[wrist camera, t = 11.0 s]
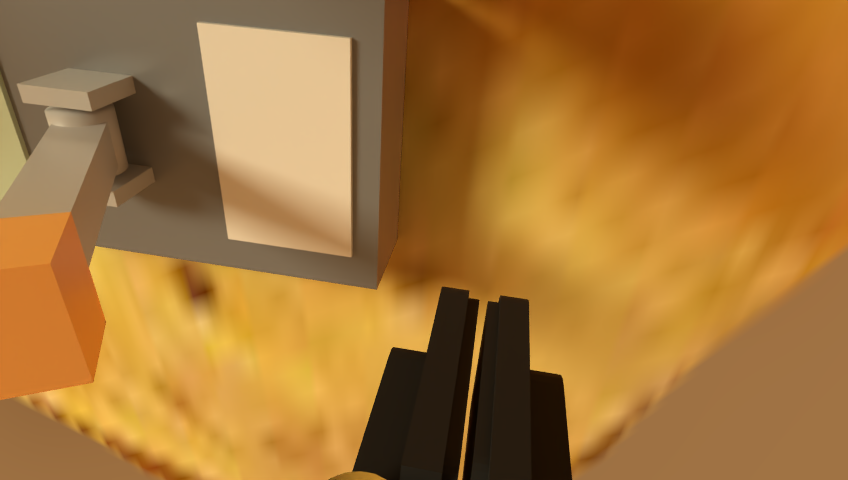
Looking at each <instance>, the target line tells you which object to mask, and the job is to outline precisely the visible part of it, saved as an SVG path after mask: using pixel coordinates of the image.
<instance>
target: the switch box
mask: <svg viewBox="0 0 848 480" xmlns="http://www.w3.org/2000/svg"><path fill="white" fill-rule="evenodd" d="M408 11H409V0H0V201H1V200H2V198H3V197H4V195H5V194H6V192H7V191H8V189H9V188H10V186H11V185H12V183H13V181H14V180H15V178H16V177H17V175H18V174H19V172H20V171H21V169H22V168H23V166H24V165H25V163H26V162H27V160H28V159H29V157H30V155H31V154H32V152H33V151H34V149H35V148H36V146H37V145H38V143H39V142H40V140H41V139H42V137H43V136H44V134H45V133H46V131H47V129H48V128H49V125H48V121H47V118H46V115H45V109H46V108H47V107H49V106H53V107H61V108H68V109H76V110H84V111H94V110H97V109H99V108H102V107H104V106H106V105H109V104H111V103H113V104H114V107H115V111H116V115H117V119H118V124H119V128H120V132H121V136H122V140H123V144H124V149H125V153H126V157H127V161H128V165H129V166H128V169H127V170H126V171H124V172H123V173H121V174H119V175H117V176H115V179H114V183H113V186H112V190H111V193H110V197H109V200H108V203H107V207H106V210H105V214H104V217H103V221H102V224H101V227H100V231H99V234H98V238H97V241H96V244H95V246H99V247H106V248H112V249H118V250H125V251H131V252H138V253H144V254H151V255H157V256H164V257H170V258H176V259H183V260H189V261H196V262H202V263H209V264H215V265H222V266H228V267H235V268H241V269H247V270H254V271H260V272H267V273H273V274H280V275H286V276H293V277H299V278H306V279H312V280H318V281H325V282H331V283H338V284H344V285H351V286H357V287H364V288H370V289H376V290H377V288H378V285H379V283H380V281H381V278H382V276H383V273H384V271H385V268H386V266H387V263H388V261H389V259H390V256H391V254H392V251H393V249H394V246H395V244H396V241H397V234H398V214H399V194H400V173H401V153H402V133H403V112H404V92H405V72H406V51H407V31H408Z"/></svg>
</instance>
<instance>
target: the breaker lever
mask: <svg viewBox="0 0 848 480" xmlns="http://www.w3.org/2000/svg"><path fill="white" fill-rule="evenodd" d="M45 115H46V118H47V121H48V125H49V128H48V129H47V131H46V133H45V134H44V136H43V137H42V139H41V140H40V142H39V143H38V145H37V146H36V148H35V149H34V151H33V152H32V154H31V155H30V157H29V159H28V160H27V162H26V163H25V165H24V166H23V168H22V169H21V171H20V172H19V174H18V175H17V177H16V178H15V180H14V181H13V183H12V185H11V186H10V188H9V189H8V191H7V192H6V194H5V195H4V197H3V198H2V200H1V201H0V400H2V399H7V398H13V397H18V396H23V395H29V394H34V393H39V392H45V391H50V390H55V389H61V388H66V387H71V386H77V385H82V384H87V383H93V381H94V376H95V372H96V367H97V362H98V358H99V353H100V348H101V343H102V339H103V334H104V329H105V325H106V321H105V317H104V314H103V311H102V308H101V305H100V302H99V299H98V295H97V292H96V289H95V286H94V283H93V280H92V276H91V273H90V270H89V265H90V262H91V258H92V255H93V251H94V248H95V244H96V241H97V238H98V234H99V231H100V227H101V224H102V221H103V217H104V214H105V210H106V207H107V203H108V200H109V197H110V193H111V190H112V186H113V183H114V179H115V176H117V175H119V174H121V173H123V172H124V171H126V170H127V169H128V166H129V165H128V161H127V157H126V153H125V149H124V144H123V140H122V136H121V132H120V128H119V124H118V119H117V115H116V111H115V107H114V104H113V103H111V104H109V105H106V106H104V107H102V108H99V109H97V110H94V111H84V110H76V109H68V108H61V107H53V106H49V107H47V108H46V109H45Z"/></svg>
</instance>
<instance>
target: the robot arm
mask: <svg viewBox="0 0 848 480" xmlns="http://www.w3.org/2000/svg"><path fill="white" fill-rule="evenodd" d="M478 307H479V300H478V299H471V298H469V291H468V290H461V289H455V288H448V287H442V289H441V293H440V297H439V301H438V306H437V310H436V315H435V319H434V323H433V328H432V332H431V336H430V341H429V345H428V349H427V353H426V352H420V351H414V350H407V349H401V348H395V347H393V348H392V349H391V352H390V354H389V357H388V361H387V364H386V367H385V370H384V373H383V376H382V380H381V383H380V386H379V389H378V392H377V395H376V398H375V402H374V405H373V408H372V411H371V414H370V417H369V421H368V424H367V427H366V430H365V433H364V436H363V440H362V443H361V446H360V449H359V452H358V455H357V459H356V462H355V465H354V468H353V471H352V472H347V473H343V474H340V475H338V476H335V477H333V478H330V479H329V480H458V473H459V465H460V458H461V450H462V441H463V433H464V424H465V416H466V408H467V399H468V391H469V383H470V374H471V366H472V357H473V349H474V341H475V332H476V324H477V316H478ZM462 480H572V475H571V463H570V452H569V441H568V430H567V418H566V407H565V396H564V385H563V378H562V376H561V375H558V374H552V373H546V372H540V371H534V370H530V343H529V301H528V300H527V299H520V298H514V297H507V296H501V295H500V298H499V302H498V303H497V302H491V301H488V304H487V310H486V316H485V322H484V328H483V334H482V341H481V347H480V353H479V359H478V365H477V371H476V377H475V383H474V389H473V395H472V401H471V408H470V416H469V425H468V434H467V443H466V452H465V461H464V470H463V479H462Z"/></svg>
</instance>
